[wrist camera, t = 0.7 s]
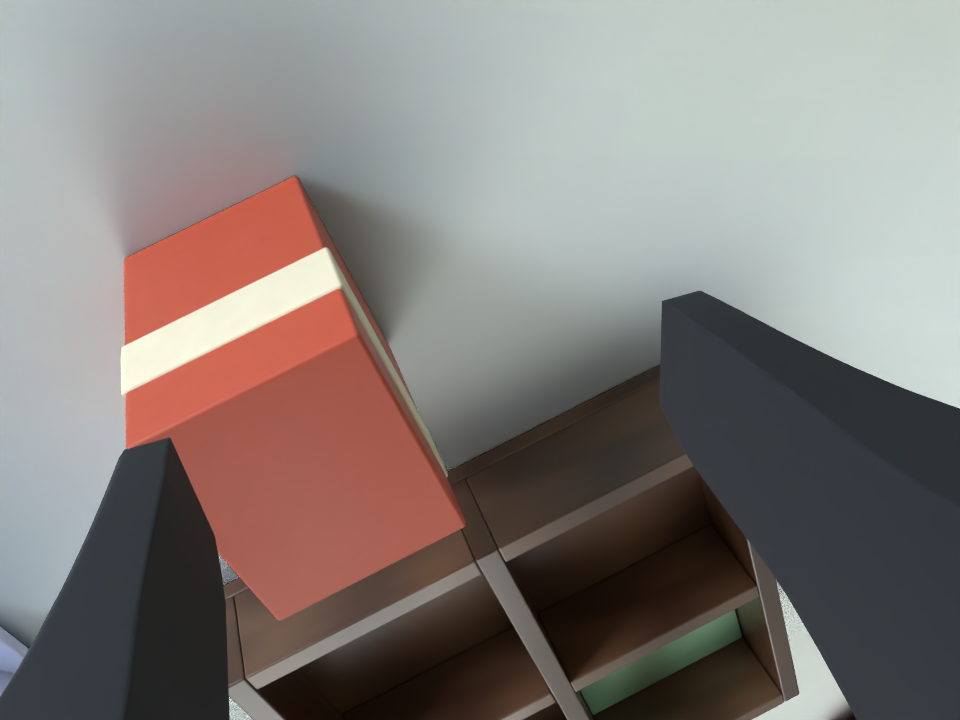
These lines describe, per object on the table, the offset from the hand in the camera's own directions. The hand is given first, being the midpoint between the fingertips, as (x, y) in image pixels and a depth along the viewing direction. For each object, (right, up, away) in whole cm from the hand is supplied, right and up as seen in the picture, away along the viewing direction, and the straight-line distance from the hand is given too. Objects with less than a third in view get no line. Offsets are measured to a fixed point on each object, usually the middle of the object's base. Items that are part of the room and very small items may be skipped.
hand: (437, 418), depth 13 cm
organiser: (+2, -8, +20) cm, 21 cm away
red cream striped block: (-5, +2, +9) cm, 11 cm away
